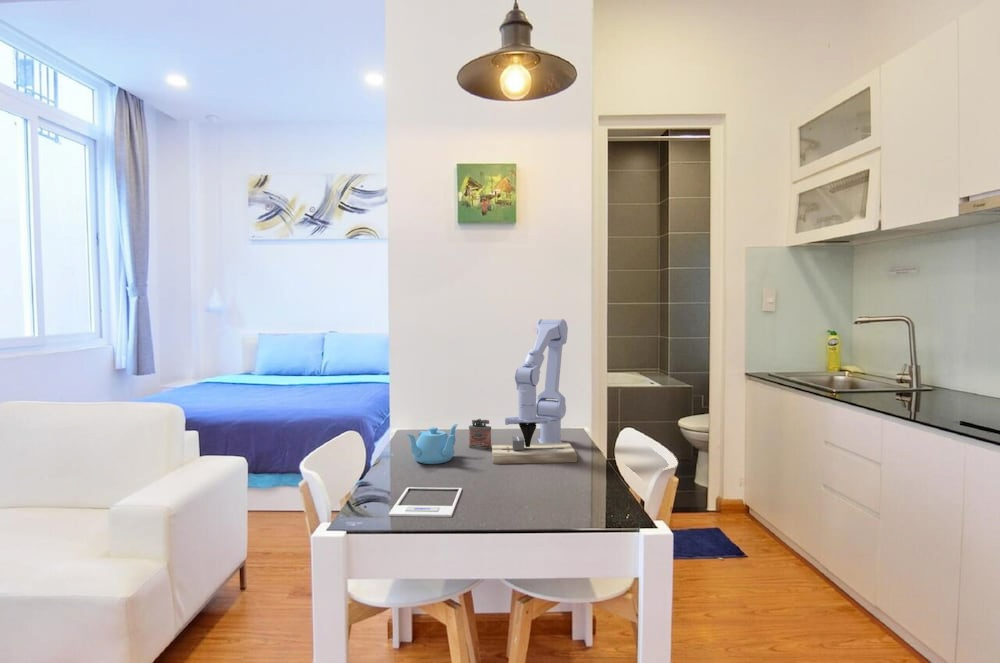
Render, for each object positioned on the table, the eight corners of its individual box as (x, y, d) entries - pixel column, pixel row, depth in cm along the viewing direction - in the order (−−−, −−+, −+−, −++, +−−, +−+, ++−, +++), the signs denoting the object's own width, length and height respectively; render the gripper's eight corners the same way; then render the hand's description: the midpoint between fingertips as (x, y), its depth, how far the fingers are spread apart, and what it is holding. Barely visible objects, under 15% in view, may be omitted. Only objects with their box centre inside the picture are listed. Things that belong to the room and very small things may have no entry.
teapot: (416, 453, 171) (415, 423, 170) (461, 453, 170) (460, 422, 170) (406, 466, 156) (405, 433, 156) (455, 466, 156) (455, 433, 155)
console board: (492, 451, 172) (492, 443, 172) (569, 450, 173) (569, 442, 173) (493, 463, 158) (493, 455, 158) (576, 462, 159) (576, 453, 159)
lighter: (467, 448, 176) (467, 419, 176) (470, 445, 180) (470, 417, 179) (489, 450, 174) (489, 420, 174) (492, 447, 177) (492, 418, 177)
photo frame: (388, 513, 118) (407, 486, 136) (388, 517, 118) (407, 490, 136) (451, 513, 117) (461, 487, 135) (451, 518, 117) (461, 491, 135)
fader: (512, 446, 168) (512, 436, 168) (522, 445, 168) (522, 436, 168) (513, 450, 163) (513, 440, 162) (524, 450, 163) (524, 440, 163)
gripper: (505, 406, 161) (505, 449, 161) (551, 406, 161) (551, 449, 162) (504, 403, 168) (504, 444, 168) (548, 402, 168) (548, 443, 169)
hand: (527, 446), depth 165 cm, fingers closed
